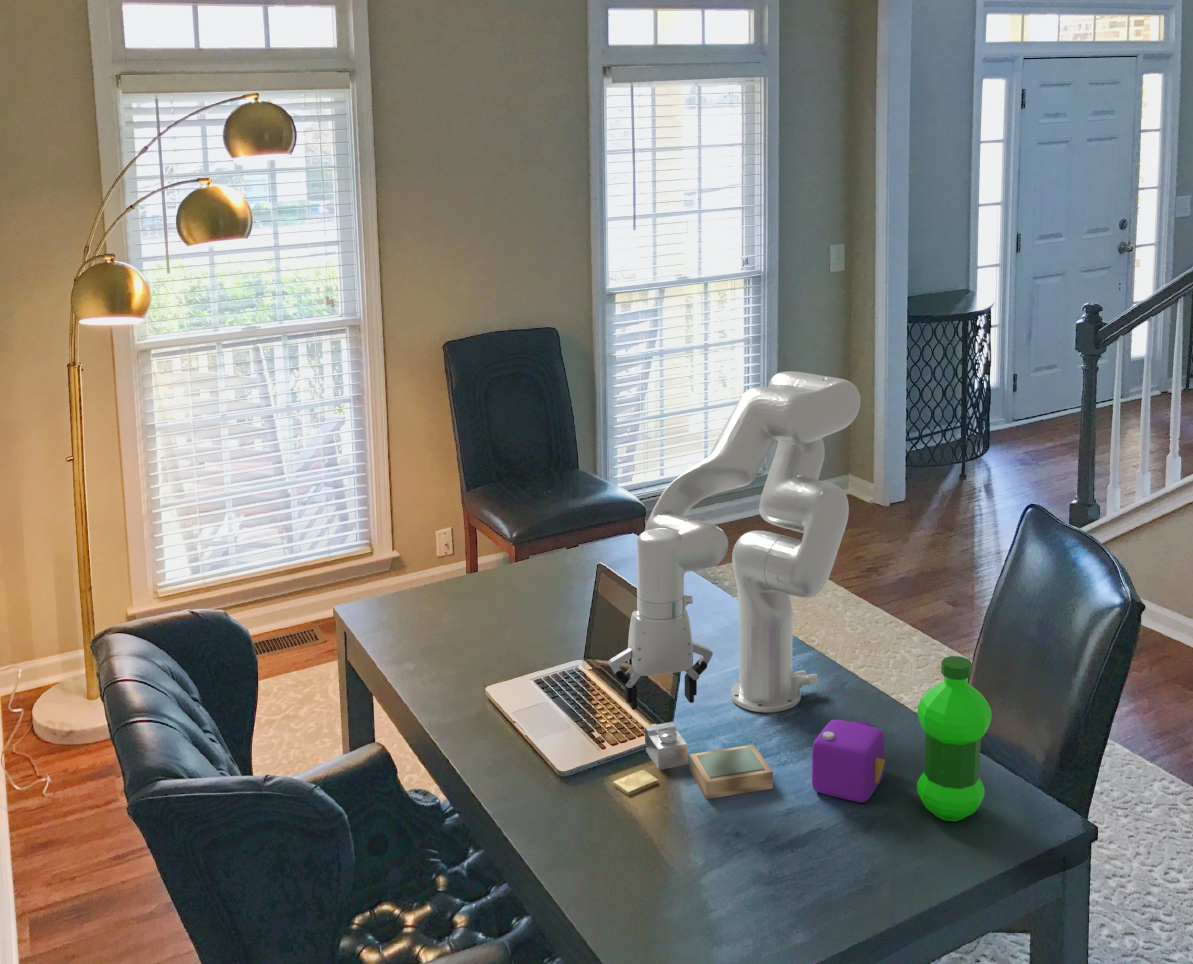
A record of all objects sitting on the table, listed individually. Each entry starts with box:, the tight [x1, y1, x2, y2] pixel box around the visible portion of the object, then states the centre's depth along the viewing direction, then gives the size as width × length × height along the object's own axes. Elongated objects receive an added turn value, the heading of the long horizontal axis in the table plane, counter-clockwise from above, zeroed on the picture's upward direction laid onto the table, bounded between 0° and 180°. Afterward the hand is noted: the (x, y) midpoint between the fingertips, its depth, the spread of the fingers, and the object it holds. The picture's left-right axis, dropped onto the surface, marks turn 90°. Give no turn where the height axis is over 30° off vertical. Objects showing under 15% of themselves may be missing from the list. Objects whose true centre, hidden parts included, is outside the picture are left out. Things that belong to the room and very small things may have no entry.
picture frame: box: [689, 744, 774, 800], centre depth 205 cm, size 11×9×3 cm
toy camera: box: [811, 719, 886, 803], centre depth 202 cm, size 11×14×10 cm
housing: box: [644, 721, 688, 771], centre depth 212 cm, size 7×5×5 cm
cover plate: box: [612, 769, 659, 797], centre depth 205 cm, size 6×4×1 cm, turn 125°
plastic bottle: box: [916, 655, 993, 822], centre depth 190 cm, size 10×10×25 cm
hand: (661, 702), depth 209 cm, fingers open, 9 cm apart
